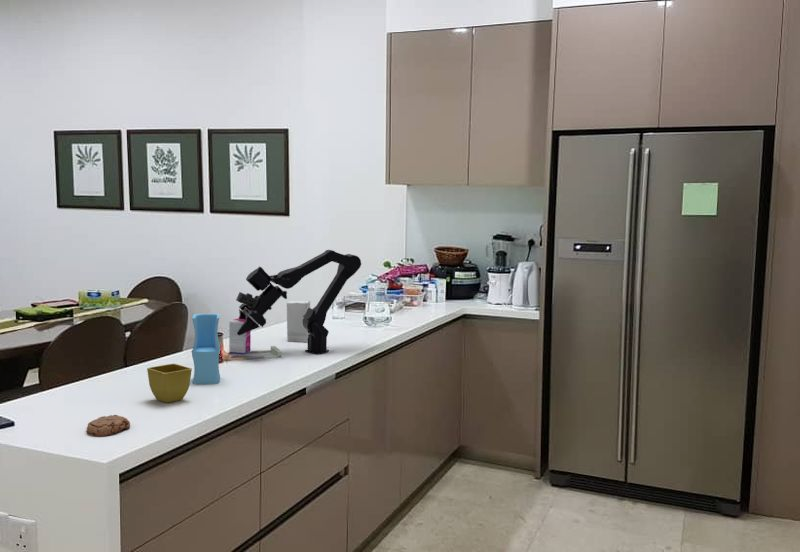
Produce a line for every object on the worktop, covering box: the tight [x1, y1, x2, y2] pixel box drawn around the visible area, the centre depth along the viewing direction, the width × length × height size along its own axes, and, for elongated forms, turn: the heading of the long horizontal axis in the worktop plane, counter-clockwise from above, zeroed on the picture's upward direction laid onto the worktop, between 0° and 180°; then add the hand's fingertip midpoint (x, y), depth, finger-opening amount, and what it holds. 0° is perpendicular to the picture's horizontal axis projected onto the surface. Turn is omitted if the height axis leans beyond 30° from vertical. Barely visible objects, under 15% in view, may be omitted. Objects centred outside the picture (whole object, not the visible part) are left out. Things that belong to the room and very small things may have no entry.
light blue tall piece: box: [191, 313, 221, 385], centre depth 223 cm, size 8×8×20 cm
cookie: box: [86, 414, 131, 438], centre depth 176 cm, size 10×11×3 cm
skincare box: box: [286, 300, 311, 343], centre depth 286 cm, size 8×7×16 cm
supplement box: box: [228, 318, 252, 355], centre depth 256 cm, size 6×6×12 cm
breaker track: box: [221, 345, 283, 362], centre depth 258 cm, size 20×10×2 cm, turn 114°
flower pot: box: [146, 363, 192, 404], centre depth 202 cm, size 9×9×9 cm
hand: (235, 332), depth 255 cm, fingers closed on supplement box, 8 cm apart
